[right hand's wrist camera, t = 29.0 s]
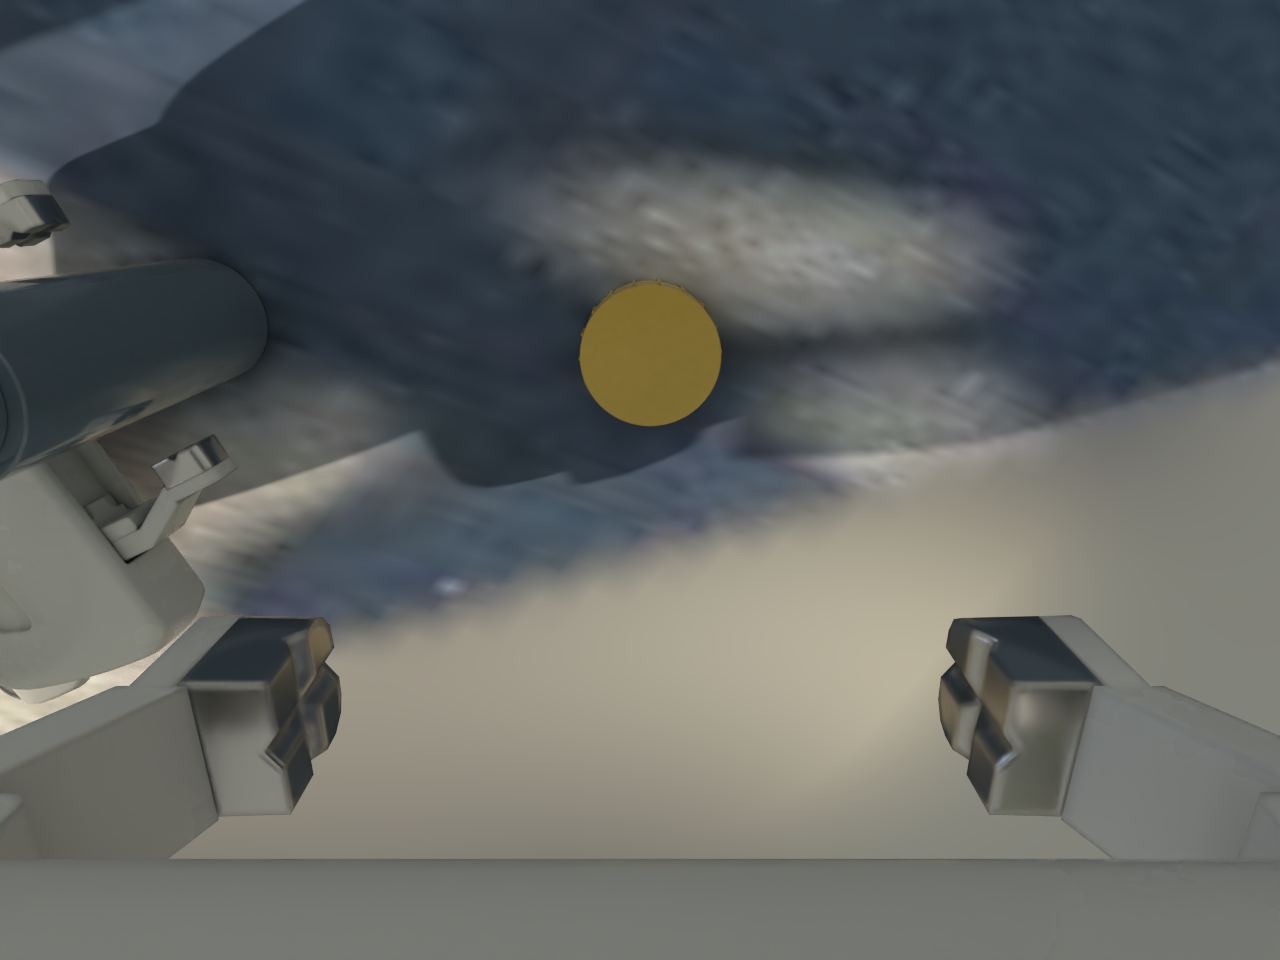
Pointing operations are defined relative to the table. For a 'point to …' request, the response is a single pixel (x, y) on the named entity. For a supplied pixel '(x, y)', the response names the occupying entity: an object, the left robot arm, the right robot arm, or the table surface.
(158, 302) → the jar
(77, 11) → the table surface
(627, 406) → the lid
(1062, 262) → the table surface
